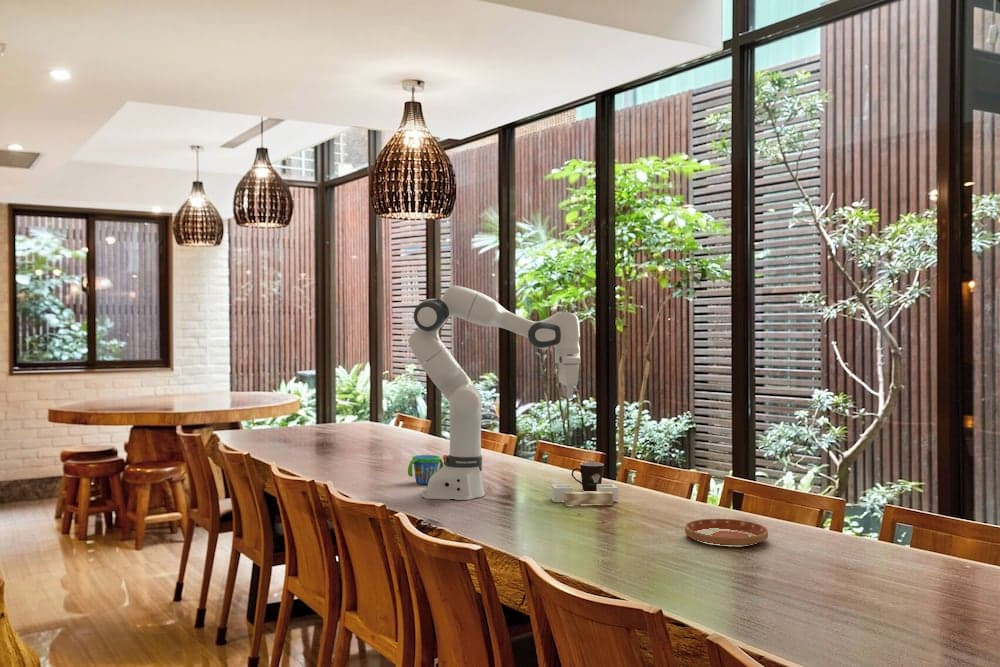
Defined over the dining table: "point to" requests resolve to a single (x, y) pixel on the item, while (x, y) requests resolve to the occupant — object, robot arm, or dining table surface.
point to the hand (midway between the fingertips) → (567, 397)
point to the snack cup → (424, 467)
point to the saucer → (726, 536)
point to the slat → (588, 498)
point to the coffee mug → (590, 475)
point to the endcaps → (561, 488)
